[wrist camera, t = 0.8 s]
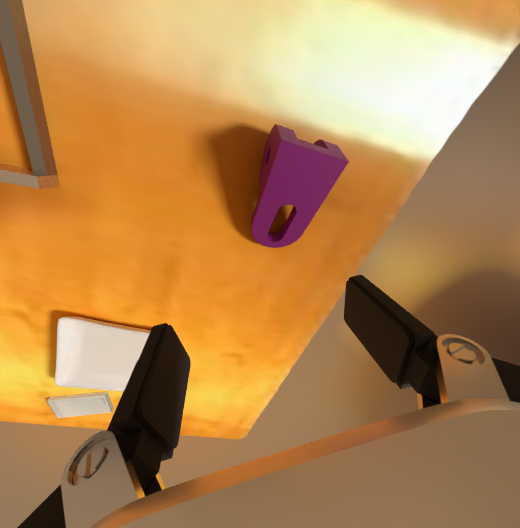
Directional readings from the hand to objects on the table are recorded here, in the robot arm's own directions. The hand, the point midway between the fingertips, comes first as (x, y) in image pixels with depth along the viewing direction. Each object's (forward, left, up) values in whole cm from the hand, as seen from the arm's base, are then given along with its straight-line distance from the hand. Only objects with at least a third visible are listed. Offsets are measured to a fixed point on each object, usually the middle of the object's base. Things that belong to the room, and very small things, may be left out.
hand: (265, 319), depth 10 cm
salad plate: (+37, -20, -28) cm, 51 cm away
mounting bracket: (-4, +8, -28) cm, 29 cm away
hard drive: (+57, -30, -28) cm, 71 cm away
